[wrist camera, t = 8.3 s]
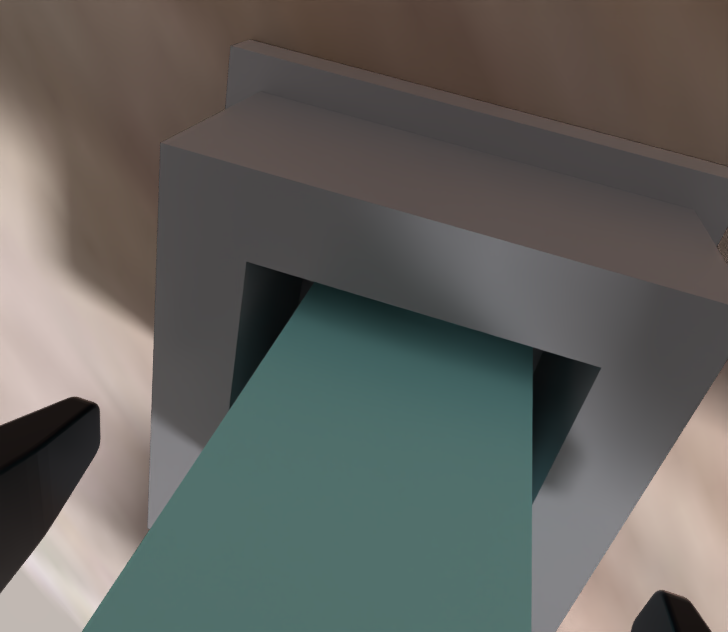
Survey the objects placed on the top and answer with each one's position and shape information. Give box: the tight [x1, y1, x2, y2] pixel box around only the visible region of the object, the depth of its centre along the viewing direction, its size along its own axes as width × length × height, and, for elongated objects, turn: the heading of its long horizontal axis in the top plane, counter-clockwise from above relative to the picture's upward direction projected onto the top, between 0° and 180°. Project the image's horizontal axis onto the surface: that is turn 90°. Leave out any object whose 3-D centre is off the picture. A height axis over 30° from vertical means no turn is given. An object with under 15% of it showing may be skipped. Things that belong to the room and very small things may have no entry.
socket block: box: [148, 40, 728, 632], centre depth 13 cm, size 10×10×5 cm
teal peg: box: [82, 282, 533, 632], centre depth 10 cm, size 4×4×10 cm
